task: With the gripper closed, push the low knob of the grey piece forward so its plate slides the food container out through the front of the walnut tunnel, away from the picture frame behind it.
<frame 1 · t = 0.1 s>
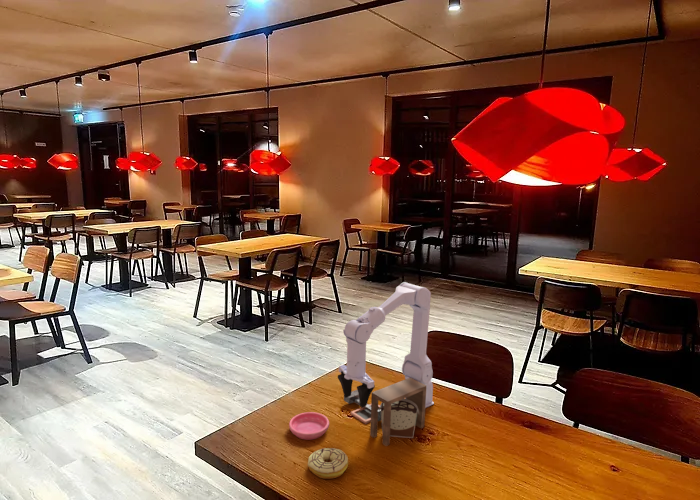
hand: (355, 401, 137), 10 cm above the table, tool pointing down, fingers open, 7 cm apart
saucer: (309, 432, 138), on the table
tunnel: (397, 431, 139), on the table
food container: (397, 431, 139), on the table
decorated donut: (328, 469, 121), on the table
grey piece: (366, 403, 150), point 3 cm above the table, slide at 0.0 cm
picture frame: (370, 413, 149), on the table
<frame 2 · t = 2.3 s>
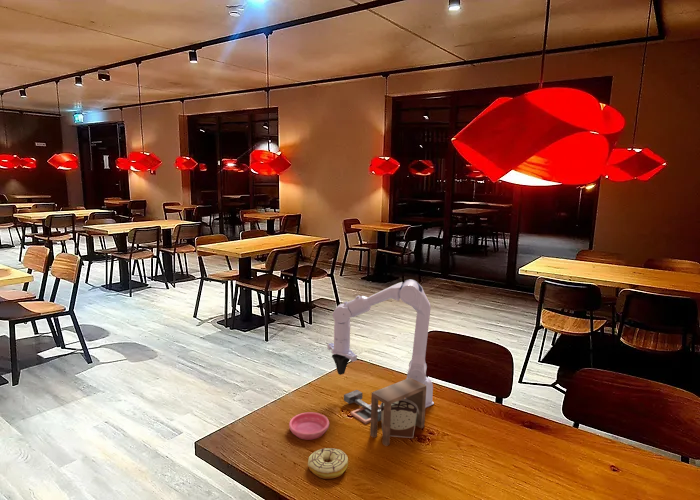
hand: (341, 373, 160), 8 cm above the table, tool pointing down, fingers closed
nothing on the table moved.
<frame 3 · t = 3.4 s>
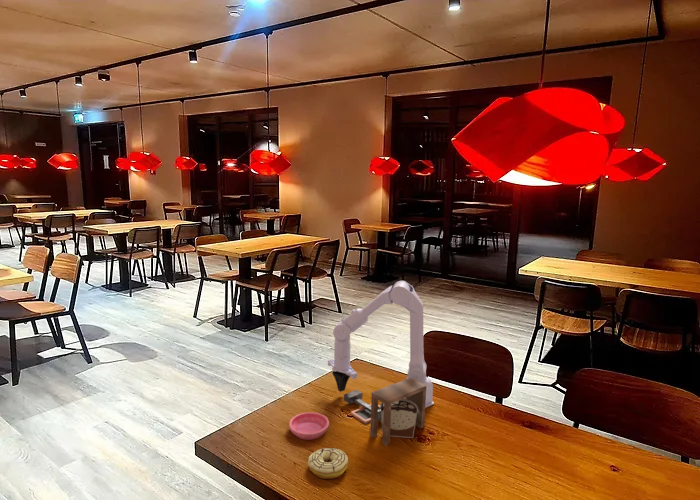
hand: (341, 390, 160), 2 cm above the table, tool pointing down, fingers closed
nothing on the table moved.
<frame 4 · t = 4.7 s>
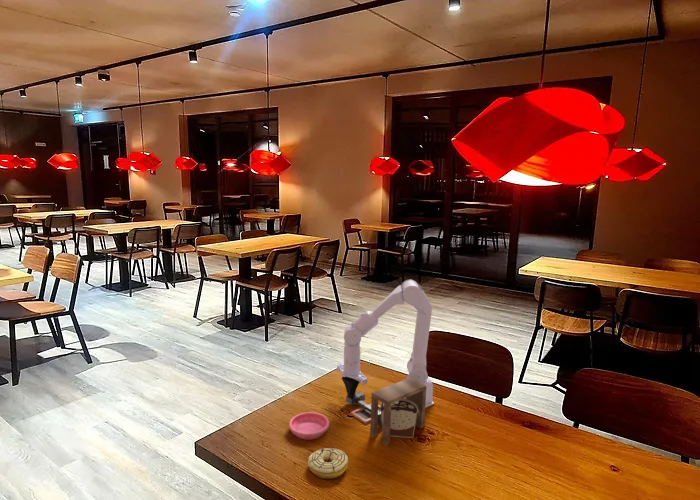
hand: (351, 396, 156), 2 cm above the table, tool pointing down, fingers closed
grey piece: (369, 405, 149), point 3 cm above the table, slide at 1.4 cm, touching gripper
everything else where it was.
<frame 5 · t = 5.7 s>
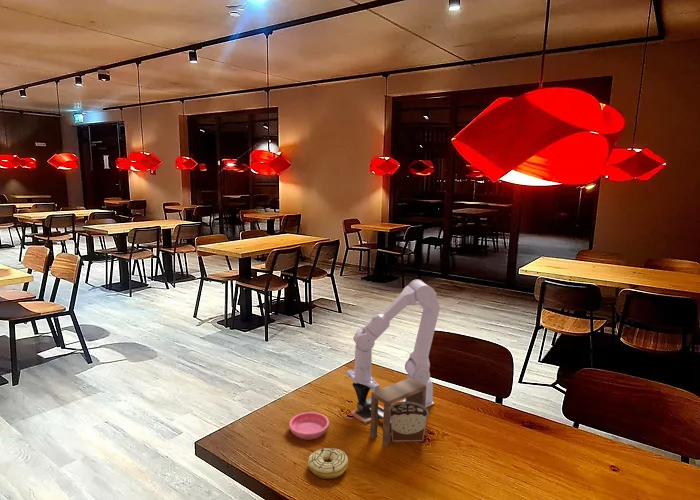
hand: (361, 402, 152), 2 cm above the table, tool pointing down, fingers closed
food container: (405, 436, 137), on the table, touching grey piece
grey piece: (380, 412, 144), point 3 cm above the table, slide at 7.1 cm, touching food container, gripper
everything else where it was.
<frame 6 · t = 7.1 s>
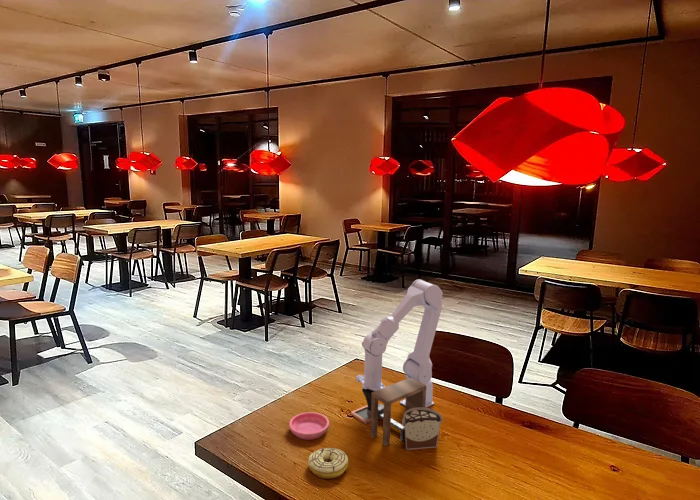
hand: (371, 408, 148), 2 cm above the table, tool pointing down, fingers closed
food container: (418, 443, 133), on the table
grey piece: (391, 419, 141), point 3 cm above the table, slide at 12.2 cm, touching gripper
everything else where it was.
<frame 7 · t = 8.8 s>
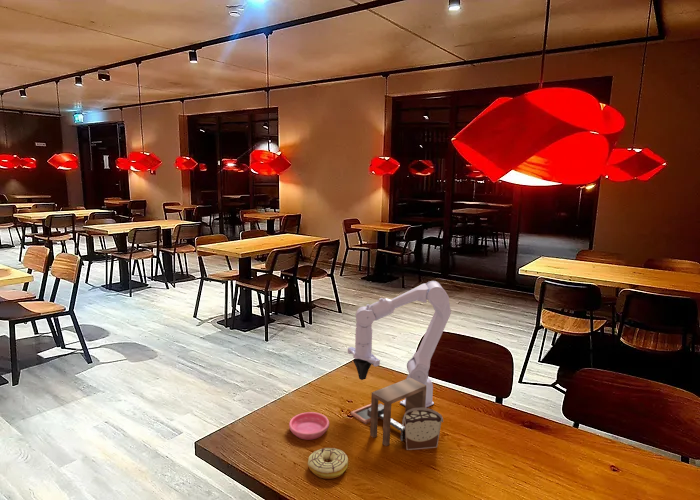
hand: (362, 378, 154), 9 cm above the table, tool pointing down, fingers closed
grey piece: (392, 419, 140), point 3 cm above the table, slide at 12.3 cm
everything else where it was.
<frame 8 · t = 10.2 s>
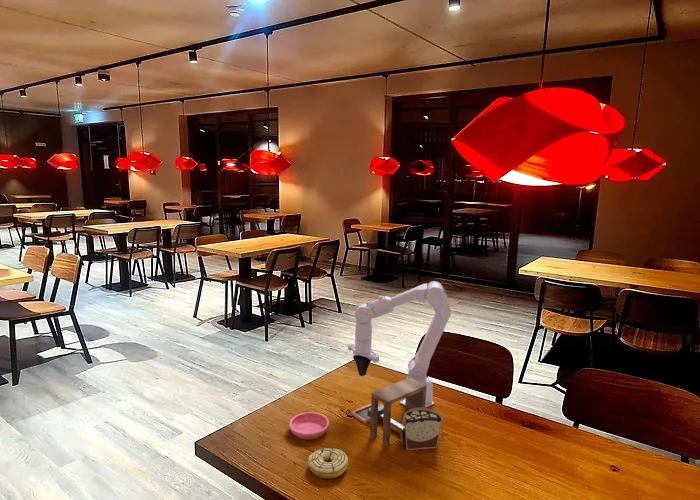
hand: (362, 374, 157), 9 cm above the table, tool pointing down, fingers closed
nothing on the table moved.
at the end: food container inside the target area (4.9 cm from its centre), on the table; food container tilted 0°; grey piece slide at 12.3 cm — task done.
